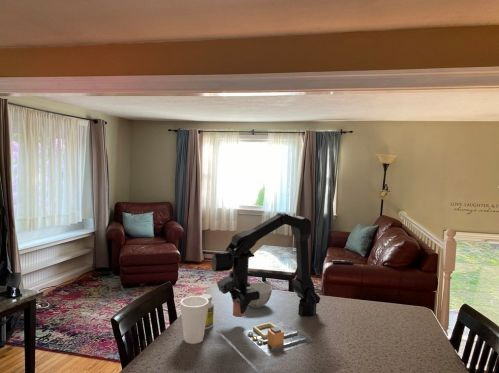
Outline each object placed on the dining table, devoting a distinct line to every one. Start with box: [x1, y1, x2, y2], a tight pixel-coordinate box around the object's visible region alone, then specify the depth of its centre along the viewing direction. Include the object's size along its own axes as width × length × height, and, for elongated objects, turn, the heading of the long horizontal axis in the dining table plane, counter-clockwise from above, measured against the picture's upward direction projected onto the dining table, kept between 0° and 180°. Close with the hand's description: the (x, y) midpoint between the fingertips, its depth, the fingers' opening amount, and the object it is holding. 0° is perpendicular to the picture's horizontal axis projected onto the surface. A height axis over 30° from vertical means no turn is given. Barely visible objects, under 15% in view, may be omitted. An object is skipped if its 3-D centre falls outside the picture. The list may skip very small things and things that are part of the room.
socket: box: [252, 321, 276, 339], centre depth 123 cm, size 7×7×1 cm
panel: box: [241, 320, 314, 357], centre depth 120 cm, size 18×17×2 cm
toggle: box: [267, 327, 284, 347], centre depth 115 cm, size 4×4×5 cm
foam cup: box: [179, 295, 209, 345], centre depth 118 cm, size 10×9×13 cm
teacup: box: [247, 281, 273, 309], centre depth 146 cm, size 15×12×8 cm
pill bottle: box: [199, 293, 215, 330], centre depth 128 cm, size 6×6×11 cm
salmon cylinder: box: [232, 298, 246, 318], centre depth 128 cm, size 4×4×6 cm
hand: (239, 310), depth 128 cm, fingers closed on salmon cylinder, 4 cm apart
